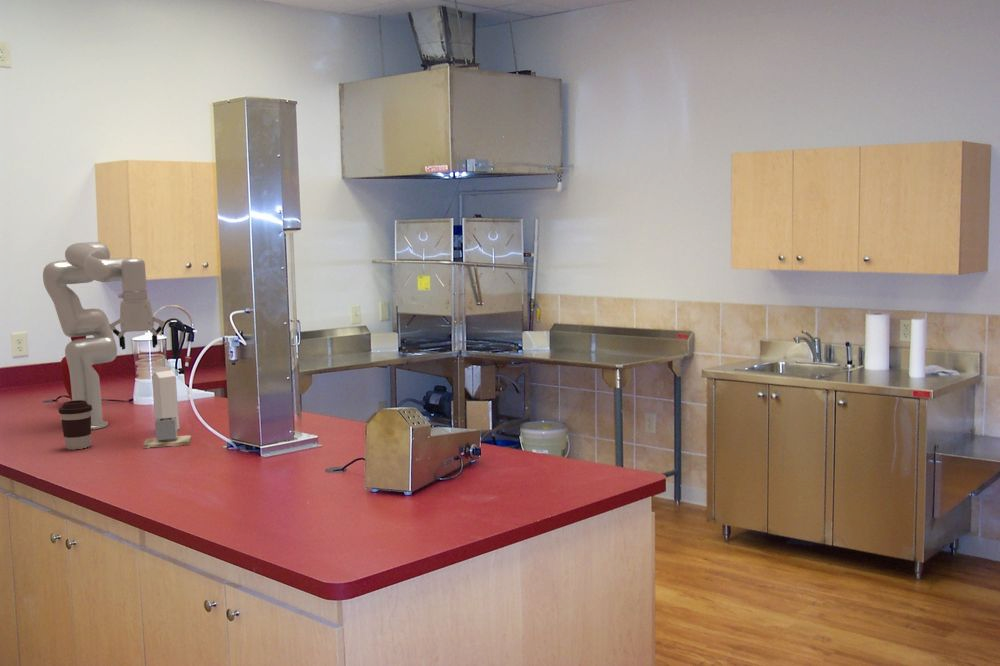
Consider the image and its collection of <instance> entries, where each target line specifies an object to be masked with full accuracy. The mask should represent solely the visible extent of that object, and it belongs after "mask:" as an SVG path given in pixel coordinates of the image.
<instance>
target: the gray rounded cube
mask: <svg viewBox="0 0 1000 666" xmlns="http://www.w3.org/2000/svg"><path fill="white" fill-rule="evenodd" d="M163 419H170V420H164V421H163ZM154 425H155V438H156V440H166V439H176V437H177V436H178V430H177V421H176V417H169V418H157V419H156V421H155V420H154Z"/></svg>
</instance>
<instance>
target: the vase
mask: <svg viewBox="0 0 1000 666" xmlns="http://www.w3.org/2000/svg"><path fill="white" fill-rule="evenodd" d="M84 338H87V336H81V337H70V340H71V341H73V340H77V339H84ZM71 341H70V342H71ZM101 366H102V363H100V364H94V365H92V367H93V368H94V370H95V371H96V372H97V373H98V375H99V379H100V380H101V370H102V369H101ZM60 372H61V377H62V380H63V381H62V382H63V384H64V388H65V389H66V393H67V394H68V396H69V399H70V401H72V391H71V380H70V372H69V367H68V363H67V359H66V355H65V356H64V357H62V358H61V361H60Z"/></svg>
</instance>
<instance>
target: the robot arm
mask: <svg viewBox="0 0 1000 666" xmlns="http://www.w3.org/2000/svg"><path fill="white" fill-rule="evenodd" d="M64 257H65V260H55V261H52V262H49V263H48V264H45V266H44V268H43V271H42V280H43V286H44V288H45V290H46V292H47V294H48V296H49V297H50V298H51V301H52V302H53V305H54V308H55V311H56V315H57V317H58V321H59V324H60V327H61V329H62V333H63V334H64V335H65V336H66V337H69V338H71V337H81V336H86V338H84V339H77V340H73V341H70V342H68V343H67V344H66V345H65V348H64V355H65V356H66V359H67V363H68V367H69V372H70V380H71V391H72V401H75V400H84V401H86V402H87V404H89V405H92V410H91V411H90V416H91V431H93V430H98V429H103V428H106V427H108V425H109V424H108V423H109V422H108V421H106V420H104V419H103V418H104V417H103V407H102V394H101V393H102V392H101V382H100V381H101V378H100V379H99V375H98V373H97V372H96V371H95V370H94V368H93V367H92V365H94V364H105V363H110V362H113V361H114V360H116V359H117V356H118V347H117V343H116V339H115V337H114V335H116V336H117V338H118V339H119V341H118V342H119V347H120V348H121V350H125V349H126V339H125V336H124V335H125V333H126V332H128V333H129V332H131V333H132V332H147V331H149V332H150V333H151V334H152V335H151V342H152V343H151V344H152V348H153V349H155V348H156V347H157V346H158V335H159V333H161V331H162V330H163V327H164V325H165V323H166V322H165V321H164V320H162V319H161V318H158V317H156V316H154V315H153V314H154V313H153V307H152V304H151V300H150V299H148V287H147V286H148V285H147V275H146V273H147V272H146V263H145V261H144V259H143V258H131V257H121V258H111V252H110V249H109V248H108V246H107V245H106V244H104V243H103V242H100V241H99V242H98V241H94V242H93V241H91V242H89V241H88V242H77V243H73V244H71V245H69V246H67V248H66V249H65V251H64ZM94 281H96V282H101V283H111V282H112V283H113V282H121V286H122V289H121V290H122V292H120V293H117V298H118V299H122V301H120V305H119V306H120V307H119V318H118V319H117V320H114V321H113V322H112V323H111V322H110V321H109V319H108V316H107V315H106V313H105V312H104V311H103V310H102V309H100V308H84V307H83V305H82V303H81V300H80V297H79V296H78V294H77V293H76V292H75V291H74V290H73V289H71V288H70V287H69V286H68V285H75V284H76V285H77V284H87V283H92V282H94ZM154 322H155V323H156V324H158V325H159V326H158V328H156V329H155V328H154V325H155V323H154ZM119 324H120V325H119ZM118 325H119V326H120V330H118V329H117V327H116V326H118ZM88 336H89V337H88ZM90 336H93V337H90ZM61 419H62V417H60V420H61ZM60 424H62V422H61V421H60ZM92 429H93V430H92Z"/></svg>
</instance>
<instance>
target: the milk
mask: <svg viewBox="0 0 1000 666" xmlns="http://www.w3.org/2000/svg"><path fill="white" fill-rule="evenodd" d="M151 381H152V382H151V384H152V398H153V409H154V411H153V412H154V422H155V421H156V419H157V418H169V417H176V421H177V431H178V429H179V430H180V419H179V405H178V403H179V402H178V391H177V390H178V389H177V376H176V374H175V372H174V371H173V370H172V366H171V365H169V366H160V367H155V368H154V374H152V375H151Z"/></svg>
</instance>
